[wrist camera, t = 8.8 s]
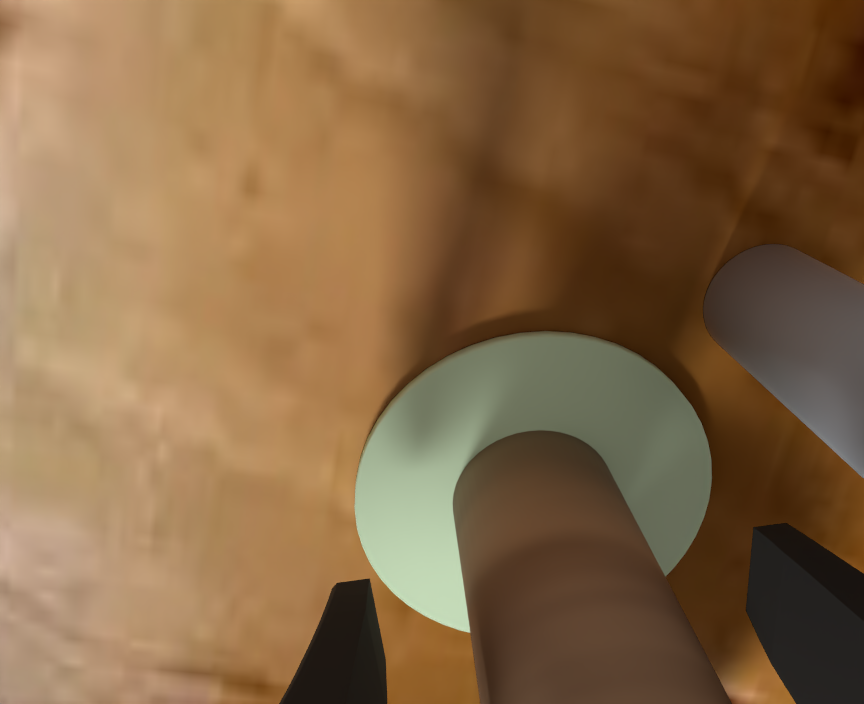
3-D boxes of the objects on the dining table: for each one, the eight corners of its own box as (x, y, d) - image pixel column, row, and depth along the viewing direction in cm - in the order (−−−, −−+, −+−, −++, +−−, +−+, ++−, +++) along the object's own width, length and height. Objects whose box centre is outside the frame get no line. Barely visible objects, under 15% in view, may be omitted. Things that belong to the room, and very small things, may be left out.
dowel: (614, 553, 16) (761, 881, 10) (461, 574, 16) (509, 916, 10) (611, 419, 15) (783, 704, 8) (444, 442, 15) (487, 745, 8)
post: (812, 345, 15) (1060, 524, 9) (701, 361, 15) (884, 550, 9) (824, 236, 14) (1110, 366, 8) (705, 252, 14) (913, 395, 8)
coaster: (697, 602, 18) (703, 614, 17) (383, 644, 18) (382, 657, 17) (713, 307, 14) (721, 314, 14) (326, 358, 14) (324, 366, 14)
